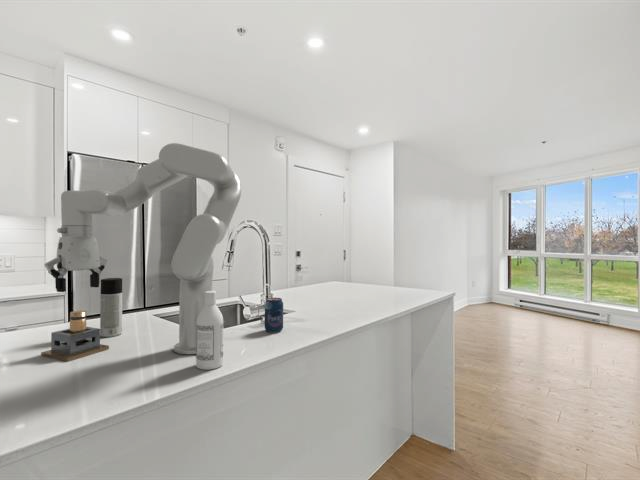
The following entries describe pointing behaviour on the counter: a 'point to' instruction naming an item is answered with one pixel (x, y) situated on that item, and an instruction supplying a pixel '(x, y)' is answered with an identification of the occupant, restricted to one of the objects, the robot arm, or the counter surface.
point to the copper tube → (78, 323)
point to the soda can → (273, 315)
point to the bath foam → (209, 334)
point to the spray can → (111, 307)
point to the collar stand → (74, 344)
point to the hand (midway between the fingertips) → (78, 289)
